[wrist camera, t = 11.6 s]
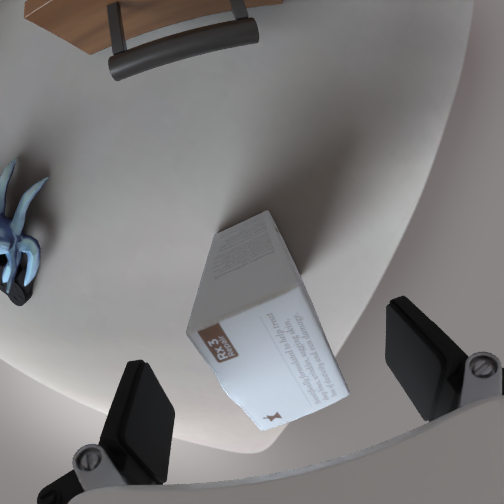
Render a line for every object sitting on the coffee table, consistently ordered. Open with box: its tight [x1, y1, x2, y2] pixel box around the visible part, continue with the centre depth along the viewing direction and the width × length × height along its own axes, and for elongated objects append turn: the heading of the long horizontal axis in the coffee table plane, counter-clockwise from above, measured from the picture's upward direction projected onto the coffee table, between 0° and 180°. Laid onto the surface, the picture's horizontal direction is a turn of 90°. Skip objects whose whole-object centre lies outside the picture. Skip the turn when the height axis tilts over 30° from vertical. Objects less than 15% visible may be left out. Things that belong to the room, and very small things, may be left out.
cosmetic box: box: [186, 210, 350, 431], centre depth 16 cm, size 6×4×12 cm
